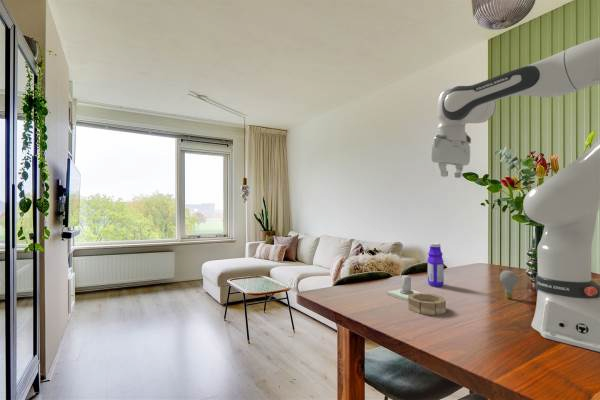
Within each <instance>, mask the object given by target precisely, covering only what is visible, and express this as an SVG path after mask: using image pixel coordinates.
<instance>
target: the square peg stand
mask: <svg viewBox="0 0 600 400" xmlns="http://www.w3.org/2000/svg"><path fill="white" fill-rule="evenodd" d="M401 278H402V280H401V281H402V283H401V285H402V288H398V289H394V290H393V289H392V290H388V291H386V295H387V296H391V297H395V298H398V299H400V300H403V301H405V302H408V295H410V294H415V293H422V292H421V291H417V290H414V289H412V277H411V276H410V275H402V276H401Z"/></svg>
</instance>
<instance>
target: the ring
mask: <svg viewBox="0 0 600 400" xmlns="http://www.w3.org/2000/svg"><path fill="white" fill-rule="evenodd" d="M407 302H408V303H407V304H408V310H409V311H411V312H414V313H417V314H420V315H431V316H432V315H433V316H435V315H436V316H437V315H441V314H445V313H446V312H447V309H446V298H445V297H444V296H442V295H441V296H440V295H437V294H433V293H427V292H426V293H425V292H424V293H423V292H421V293H415V294H410V295H408V301H407Z"/></svg>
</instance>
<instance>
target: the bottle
mask: <svg viewBox="0 0 600 400" xmlns="http://www.w3.org/2000/svg"><path fill="white" fill-rule="evenodd" d="M441 250H442V249H441V243H439V242H430V243H429V251H428V252H427V254H428V256H427V257H428V258H427V260H426V262H427V282H428V285H430V286H431V287H437V288H438V287H439V288H441V287H443V286H444V284H445V283H444V282H445V280H444V279H445V277H444V276H445V275H444V263H445V262H444V258H443V255H444V254H443V252H442V251H441Z"/></svg>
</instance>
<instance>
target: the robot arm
mask: <svg viewBox="0 0 600 400" xmlns="http://www.w3.org/2000/svg"><path fill="white" fill-rule="evenodd" d="M599 84H600V36H599V37H596V38H594V39H593V38H592V39H590V40H587V41H584V42H581V43H578V44H575V45H573V46H572V47H569V48H567V49H564V50H562V51H559V52H557V53H555V54H552V55H550V56H548V57H545V58H543V59H541V60H538V61H536V62H533V63H530V64H528V65H525V66H522V67H520V68H516V69H513V70H510V71H507V72H505V73H502V74H499V75H496V76H494V77H491V78H489V79H485V80H483V81H480V82H477V83H475V84H471V85H458V86H455V87H452V88H448V89H446V90H444V91H443V92H441V93H440V94H439V95H438V99H437V104H436V120H437V127H436V136H435V137H434V139H433V142H432V144H431V145H432V146H431V157H430V158H431V162H432V163H434V164H435V163H436V164H437V163H438V168H439V170H440V176H441V177H443V178H446V177H449V170H447V165H452V166H455V172H454V178H457V179H459V178H462V173H463V170H464V166H469V164H470V162H471V146H470V144H471V143H472V139H471V137H470V135H468V133H467V131H466V125H467V124H481V123H484V122H487V121H488V120H490V119H491V118H492V117H493V115H494V113H495V111H496V101H498V100H501V99H504V98H508V97H514V96H528V97H529V96H530V97H538V98H544V99H545V98H547V99H549V98H550V99H551V98H556V97H561V96H565V95H569V94H573V93H576V92H579V91H581V90H584V89H587V88H589V87H594V86H597V85H599ZM522 206H523V207H522V208H523V210H524V213H525V214H526V216H527V217H528V218H529V219H530V220H532V221H533V222H535V223H538V224H541V225H544V228H543V231H542V235H541V238H540V240H539V242H538V244H537V248H536V250H537V251H536V253H537V254H536V256H537V274H536V275H535V293H536V295H537V296H536V304H535V310H534V316H533V319H532V321H531V323H530V324H531V325H530V326H531V328H532V329H534V330H535V331H537V332H538V333H540V335H541V336H542V337H543V338H544V339H548V340H550V341H555V342H559V343H563V344H567V345H570V346H575V347H579V348H582V349H586V350H587V349H588V350H591V351H595V352H598V353H600V284H598V283H597V282H595V281H594V280H592V243H593V238H594V234H595V229H596V223H597V215H598V212H599V210H600V138H599V139H598V140H596V142H595V143H593V145H592V146H591V147H589V148H588V149H587V150H586V151H585V152H584V153H582V154H581V155H580V156H579V157H578V158H576V159H575V160H573V161H572V162H571V163H569V164H568V165H567V166H565V167H564V168H562V169H560V170H559V171H558V172H556V173H555V174H553V175H552V176H551V177H550V178H548V179H547V180H545V181H544V182H542V183H541V184H540V185H538V186H536V187H533V188H532V189H530V190H529V191H528V192H527V193H526V195H525V196H524V198H523V203H522Z"/></svg>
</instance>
